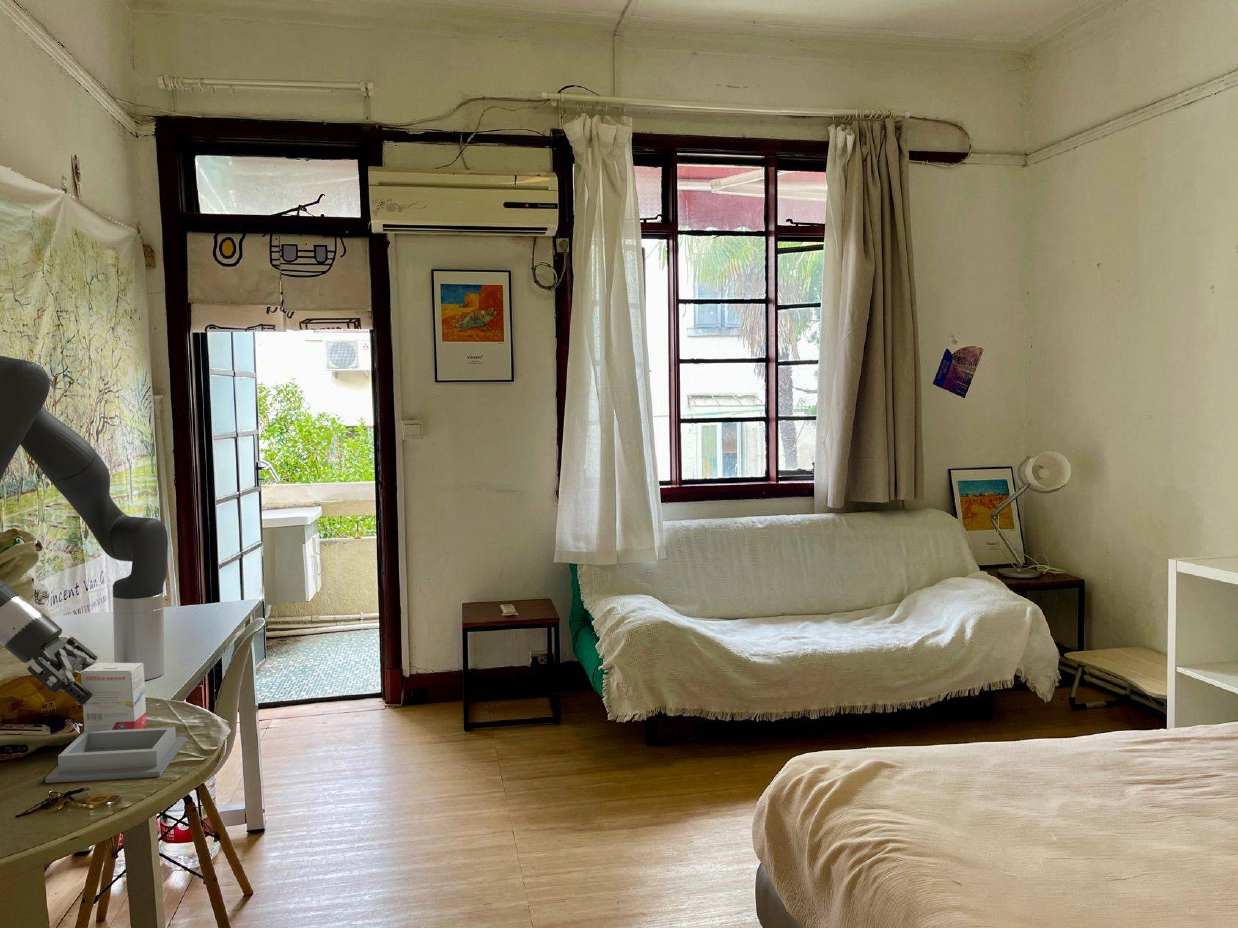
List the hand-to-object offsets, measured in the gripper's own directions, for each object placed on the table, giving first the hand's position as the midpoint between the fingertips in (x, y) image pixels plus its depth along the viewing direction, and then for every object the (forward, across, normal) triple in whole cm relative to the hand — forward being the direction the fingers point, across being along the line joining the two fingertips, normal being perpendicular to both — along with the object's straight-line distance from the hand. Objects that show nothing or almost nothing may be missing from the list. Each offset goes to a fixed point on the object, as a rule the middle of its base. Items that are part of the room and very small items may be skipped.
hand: (97, 691), depth 152 cm
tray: (+11, -13, 0) cm, 17 cm away
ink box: (+7, 0, +4) cm, 8 cm away
